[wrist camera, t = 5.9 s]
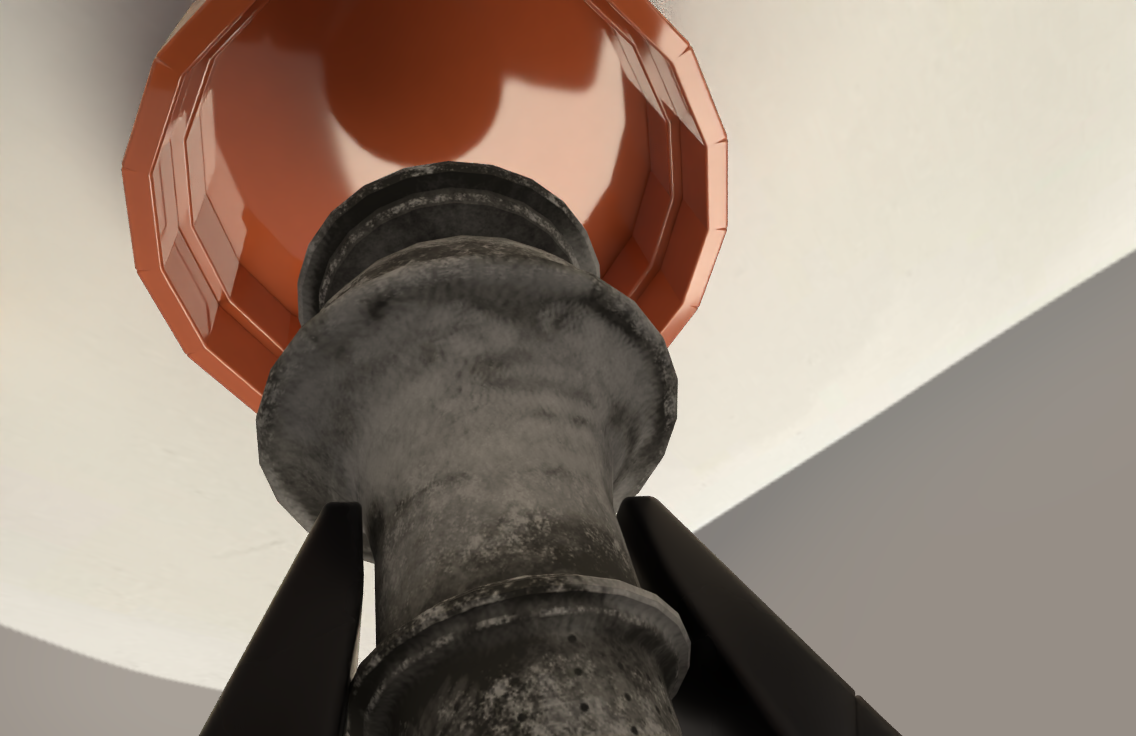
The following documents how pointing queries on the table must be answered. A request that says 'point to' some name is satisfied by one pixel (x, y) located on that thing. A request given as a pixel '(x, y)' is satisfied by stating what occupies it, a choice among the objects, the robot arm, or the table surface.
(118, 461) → the table surface
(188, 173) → the bowl
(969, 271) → the table surface
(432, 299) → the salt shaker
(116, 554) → the table surface
